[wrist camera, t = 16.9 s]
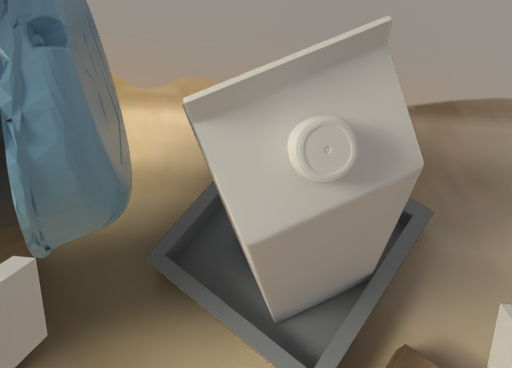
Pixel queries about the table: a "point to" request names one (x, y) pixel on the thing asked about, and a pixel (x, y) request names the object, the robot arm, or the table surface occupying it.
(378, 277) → the tray
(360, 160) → the milk carton
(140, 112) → the table surface
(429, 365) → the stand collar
